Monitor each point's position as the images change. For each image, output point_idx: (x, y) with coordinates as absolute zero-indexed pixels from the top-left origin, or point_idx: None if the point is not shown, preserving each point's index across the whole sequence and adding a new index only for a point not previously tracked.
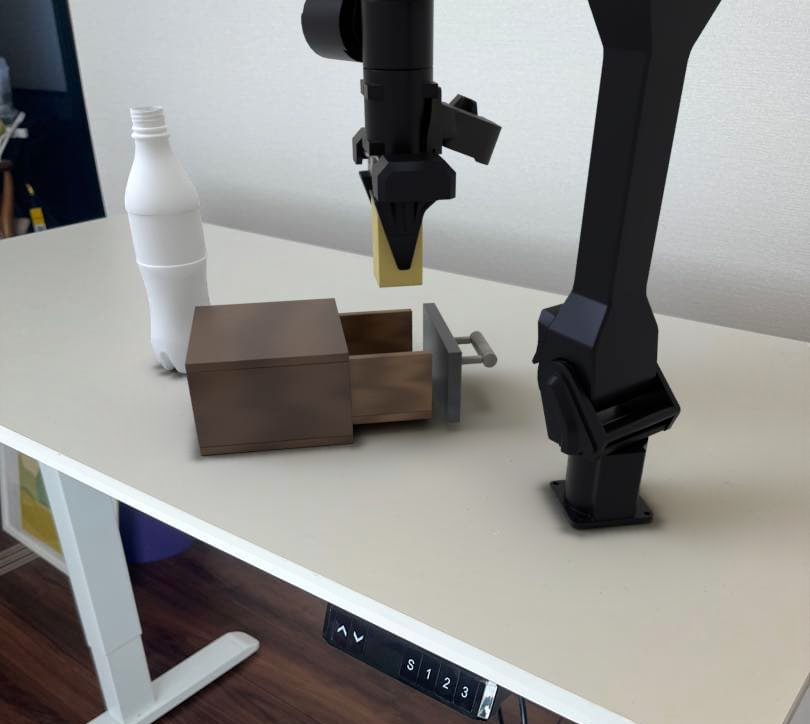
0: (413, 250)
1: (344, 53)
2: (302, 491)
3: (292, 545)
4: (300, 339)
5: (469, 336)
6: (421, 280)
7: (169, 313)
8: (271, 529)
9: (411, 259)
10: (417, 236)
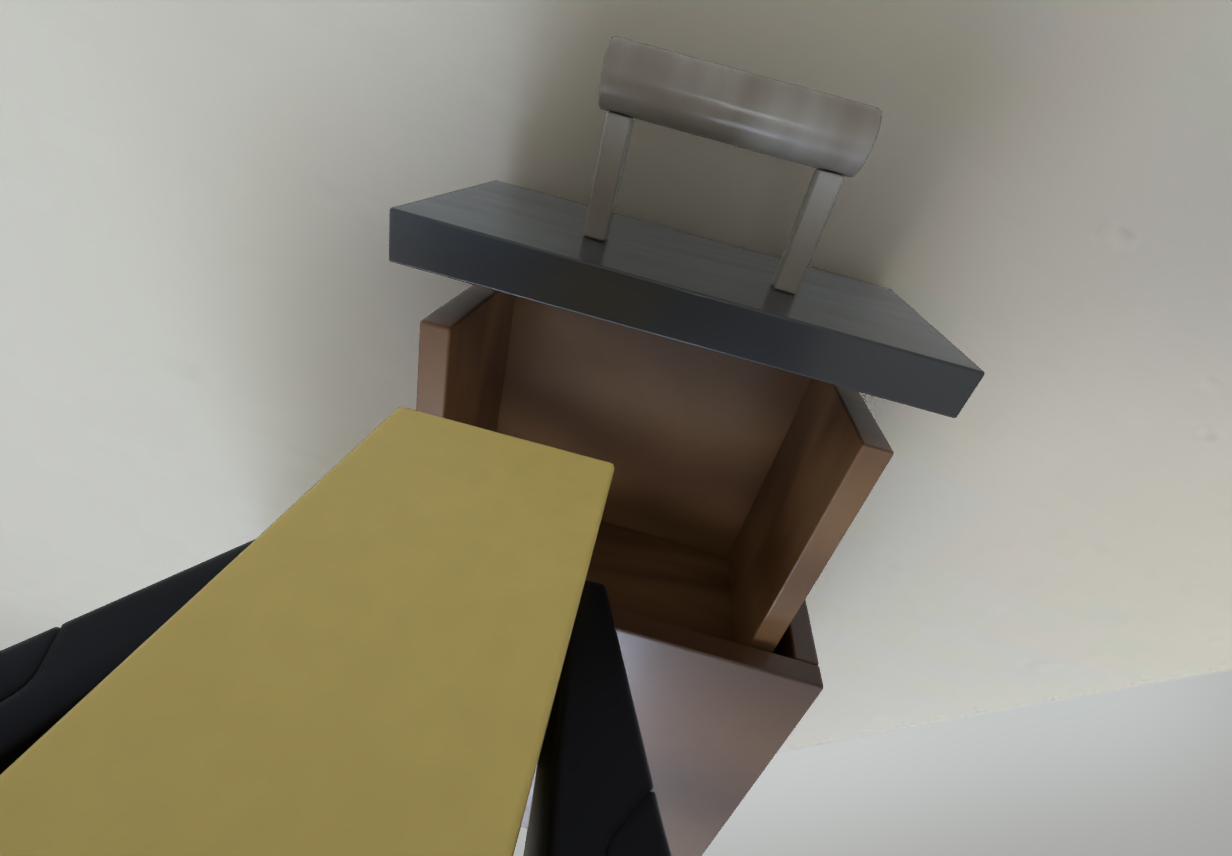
0: (625, 678)
1: None
2: (898, 628)
3: (1039, 686)
4: (663, 725)
5: (602, 108)
6: (609, 480)
7: None
8: (973, 690)
9: (611, 627)
10: (650, 776)
